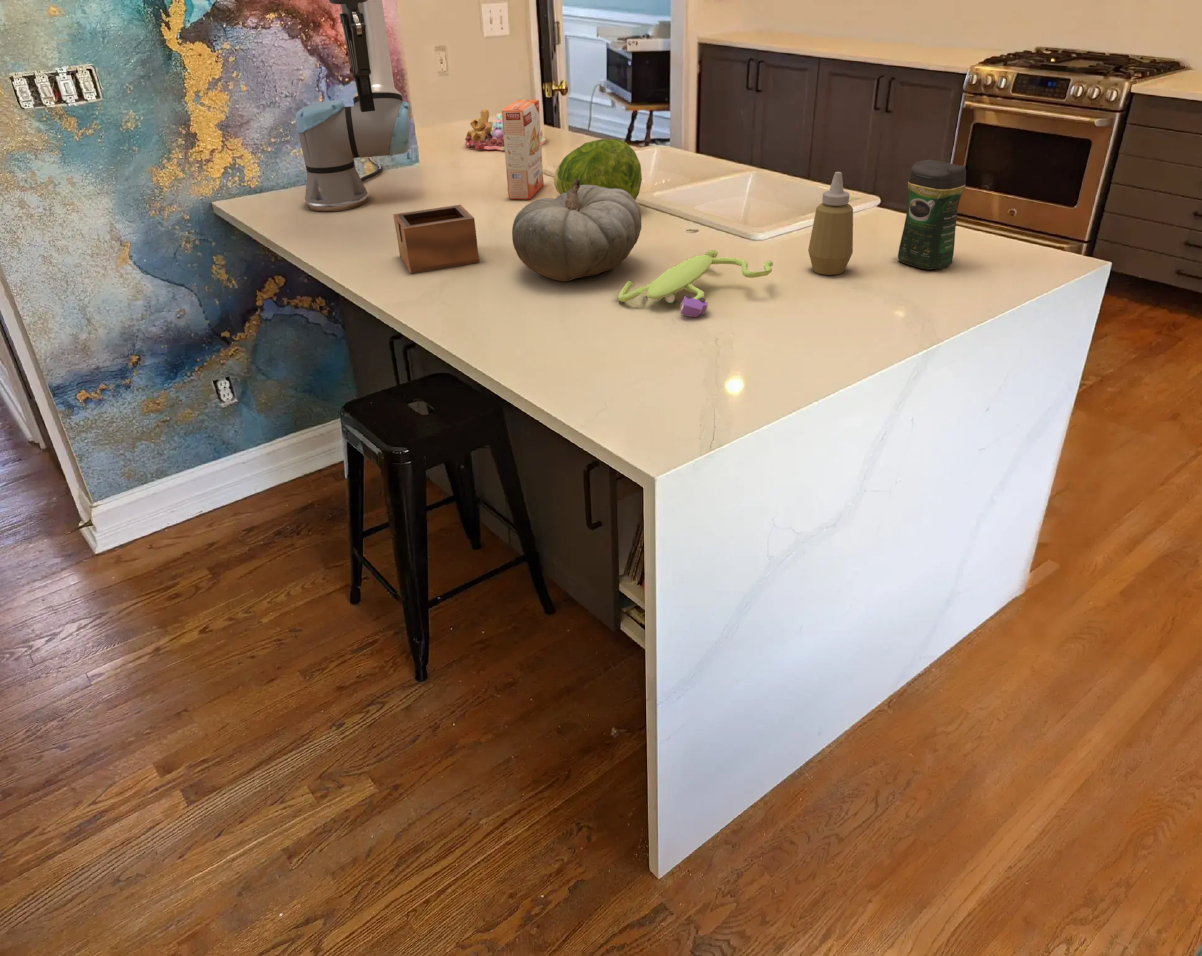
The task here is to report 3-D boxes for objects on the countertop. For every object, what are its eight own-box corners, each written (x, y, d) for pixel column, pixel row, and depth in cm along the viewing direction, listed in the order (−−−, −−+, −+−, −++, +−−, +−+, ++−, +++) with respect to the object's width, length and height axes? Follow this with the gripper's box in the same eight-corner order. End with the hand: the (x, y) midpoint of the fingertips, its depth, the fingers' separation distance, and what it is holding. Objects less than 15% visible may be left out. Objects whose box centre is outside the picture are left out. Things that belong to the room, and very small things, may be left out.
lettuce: (573, 227, 218) (599, 167, 218) (634, 230, 200) (663, 164, 201) (523, 191, 207) (551, 128, 207) (583, 191, 189) (613, 121, 190)
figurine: (786, 289, 160) (788, 259, 157) (675, 329, 146) (675, 297, 143) (715, 264, 172) (715, 236, 169) (606, 299, 159) (605, 269, 156)
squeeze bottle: (825, 281, 163) (835, 180, 153) (797, 268, 169) (805, 171, 159) (859, 272, 166) (871, 173, 156) (831, 260, 172) (840, 164, 162)
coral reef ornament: (455, 152, 265) (451, 119, 260) (477, 135, 285) (474, 104, 280) (536, 151, 261) (534, 118, 256) (553, 134, 281) (551, 103, 276)
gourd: (674, 252, 171) (657, 163, 162) (585, 310, 159) (560, 217, 149) (587, 240, 188) (566, 158, 178) (500, 291, 176) (472, 207, 166)
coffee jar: (959, 265, 167) (977, 163, 157) (931, 274, 163) (948, 170, 153) (917, 252, 174) (932, 154, 164) (889, 261, 170) (903, 161, 160)
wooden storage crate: (392, 214, 179) (402, 228, 170) (461, 204, 183) (475, 217, 174) (399, 257, 184) (410, 273, 175) (466, 247, 188) (480, 262, 179)
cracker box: (531, 200, 217) (524, 109, 205) (507, 200, 218) (499, 109, 207) (545, 185, 228) (539, 98, 217) (523, 185, 229) (515, 98, 218)
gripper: (319, -22, 172) (344, 107, 185) (330, -17, 162) (355, 119, 175) (358, -25, 174) (379, 103, 188) (371, -20, 164) (392, 114, 178)
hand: (367, 110), depth 181 cm, fingers closed
